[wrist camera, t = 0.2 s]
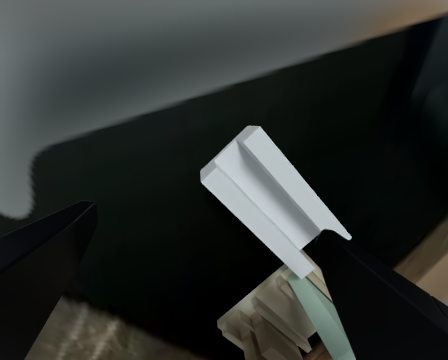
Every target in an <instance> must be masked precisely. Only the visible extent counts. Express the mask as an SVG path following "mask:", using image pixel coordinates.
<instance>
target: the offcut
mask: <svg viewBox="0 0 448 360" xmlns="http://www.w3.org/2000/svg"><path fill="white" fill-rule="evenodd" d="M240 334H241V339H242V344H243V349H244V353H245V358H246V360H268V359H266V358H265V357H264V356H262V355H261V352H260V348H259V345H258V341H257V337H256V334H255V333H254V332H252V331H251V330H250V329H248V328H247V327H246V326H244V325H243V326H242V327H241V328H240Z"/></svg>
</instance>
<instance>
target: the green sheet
mask: <svg viewBox="0 0 448 360" xmlns="http://www.w3.org/2000/svg"><path fill="white" fill-rule="evenodd" d="M287 280H288V281H289V283H290V285H291V287H292V288H293V290H294V292H295V294H296V295H297V297H298V299H299V301H300V302H301V304H302V306H303V308H304V309H305V311H306V313H307V315H308V316H309V318H310V320H311V322H312V323H313V325H314V327H315V329H316V330H317V332H318V334H319V336H320V337H321V339H322V341H323V343H324V344H325V346H326V348H327V350H328V351H329V353H330V355H331V357H332V358H333V360H356V359H355V356H354V354H353V351H352V349H351V346H350V344H349V341H348V339H347V336H346V334H345V331H344V329H343V326H342V324H341V321H340V319H339V317H338V314H337V312H336V309H335V307H334V304H333V302H332V301H331V300H330V299H329V298H328V297H327V296H326V295H325V294H324V293H323V292H322V291H321V290H320V289H319V288H318V287H317V286H316V285H315V284H314V283H313V282H312V281H310V280H309V279H308V278H307V277H306V276H305V277H304V278H303V279H302V280H301V279H300V278H299V277H298V276H297V275H296V274H295V273H294V272H293V273H292V274H291V275H289V276H288V277H287Z"/></svg>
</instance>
